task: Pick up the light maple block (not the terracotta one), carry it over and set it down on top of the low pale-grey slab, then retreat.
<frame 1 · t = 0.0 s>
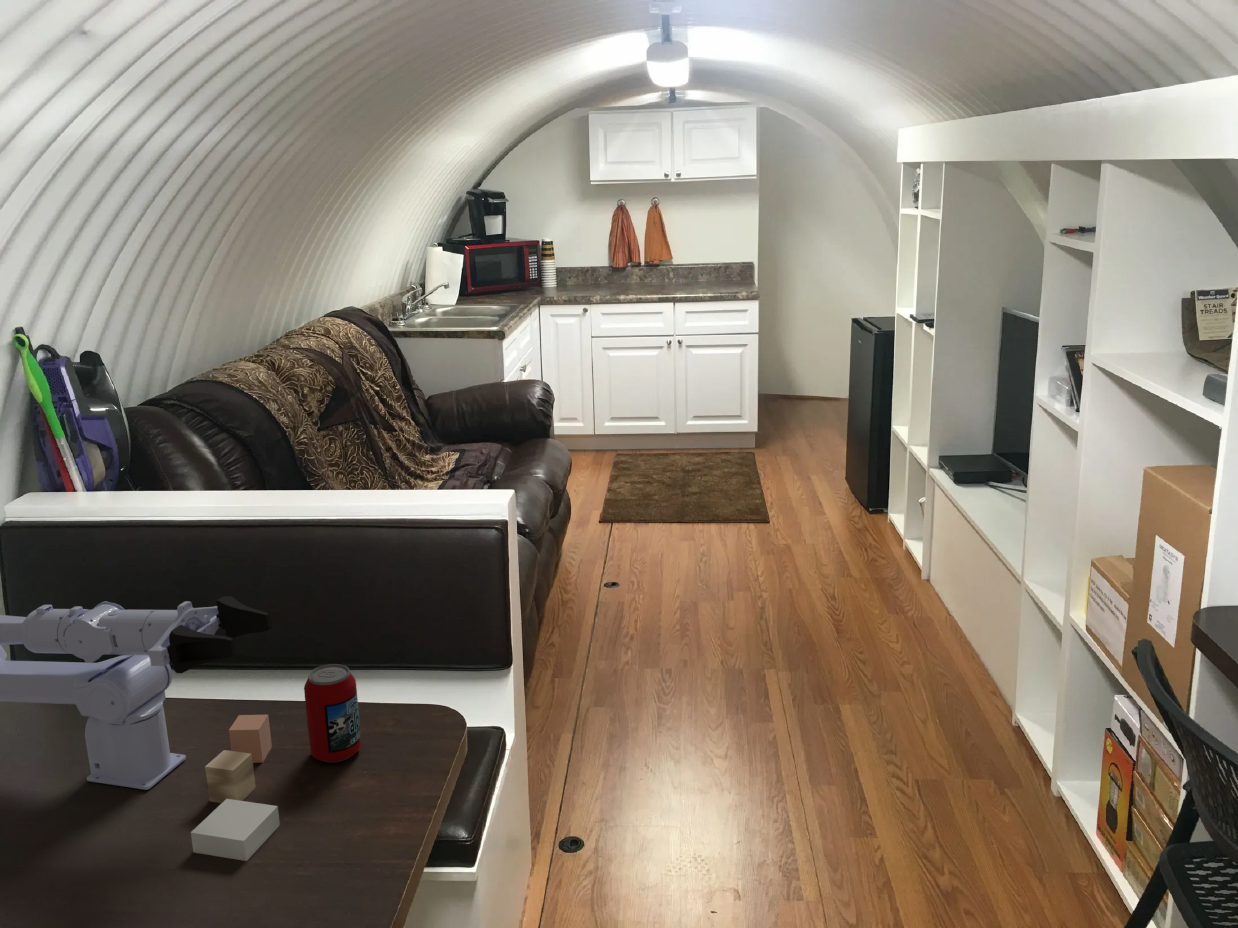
hand: (251, 634, 128), 22 cm above the table, tool horizontal, fingers open, 7 cm apart
grey slab: (237, 840, 124), on the table
beverage can: (336, 754, 142), on the table
terracotta block: (252, 754, 142), on the table
maple block: (233, 794, 133), on the table
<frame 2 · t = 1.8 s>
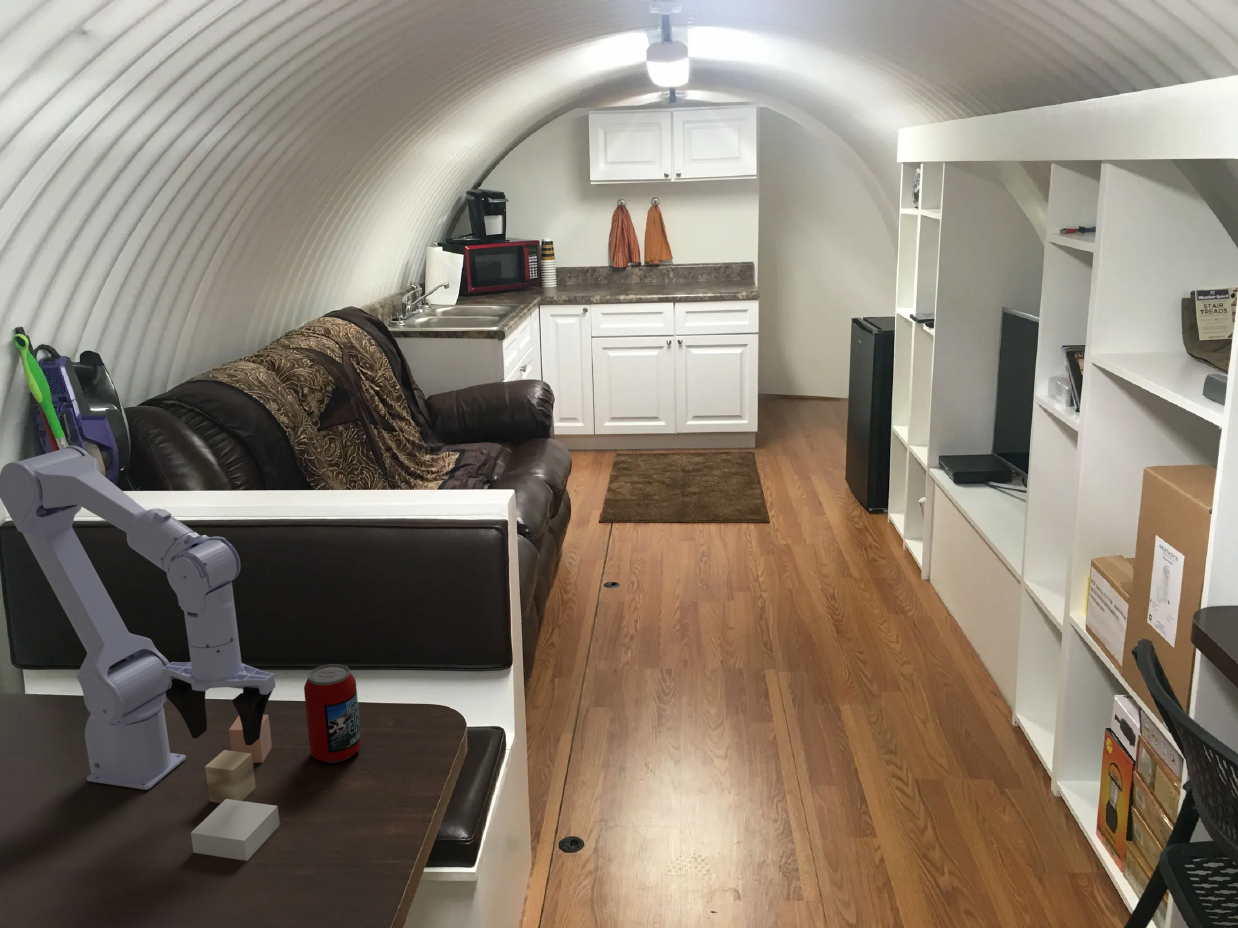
hand: (226, 737, 131), 8 cm above the table, tool pointing down, fingers open, 7 cm apart
nothing on the table moved.
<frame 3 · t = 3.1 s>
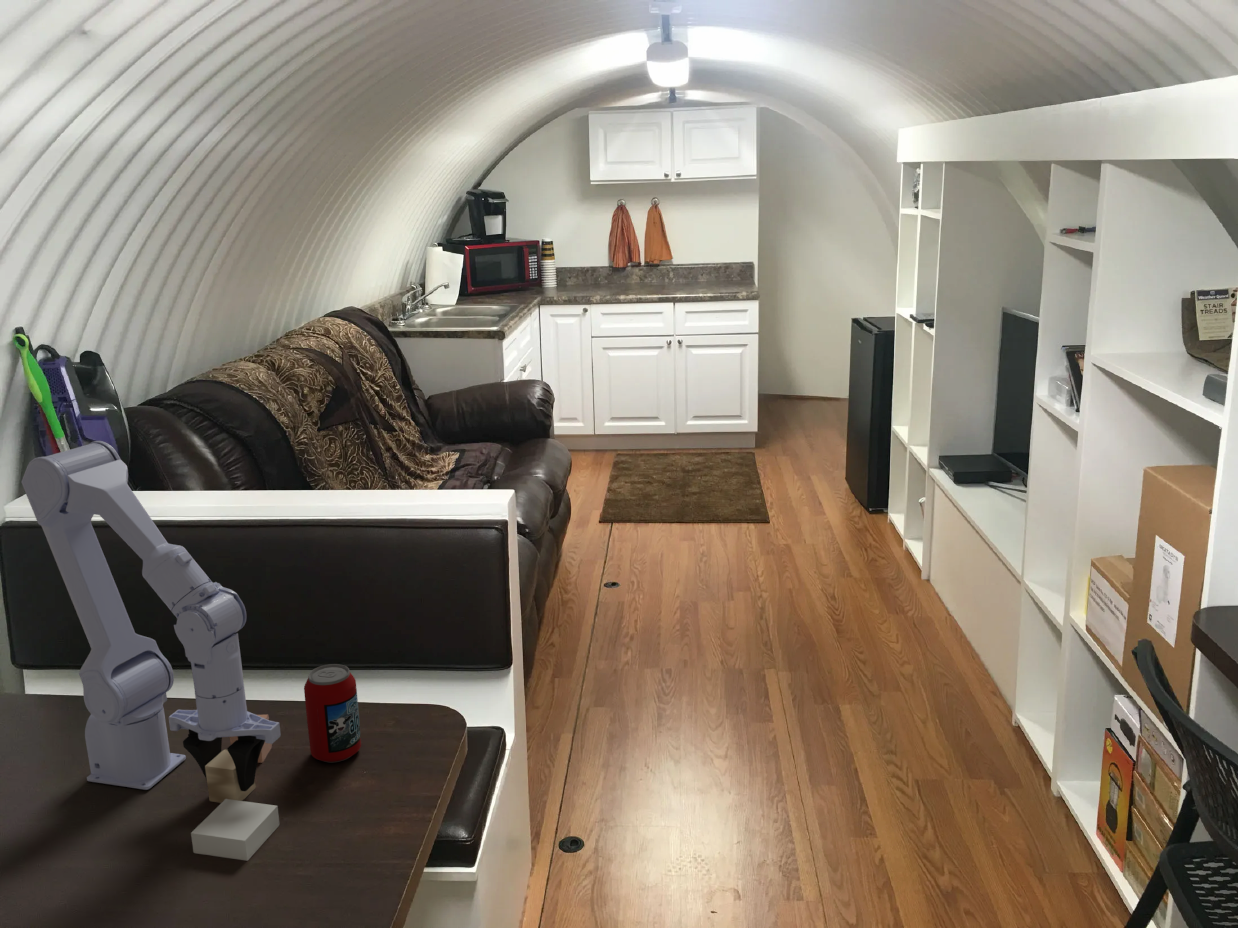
hand: (231, 784, 132), 1 cm above the table, tool pointing down, fingers closed on maple block, 4 cm apart
maple block: (232, 794, 133), on the table, touching gripper
everything else where it was.
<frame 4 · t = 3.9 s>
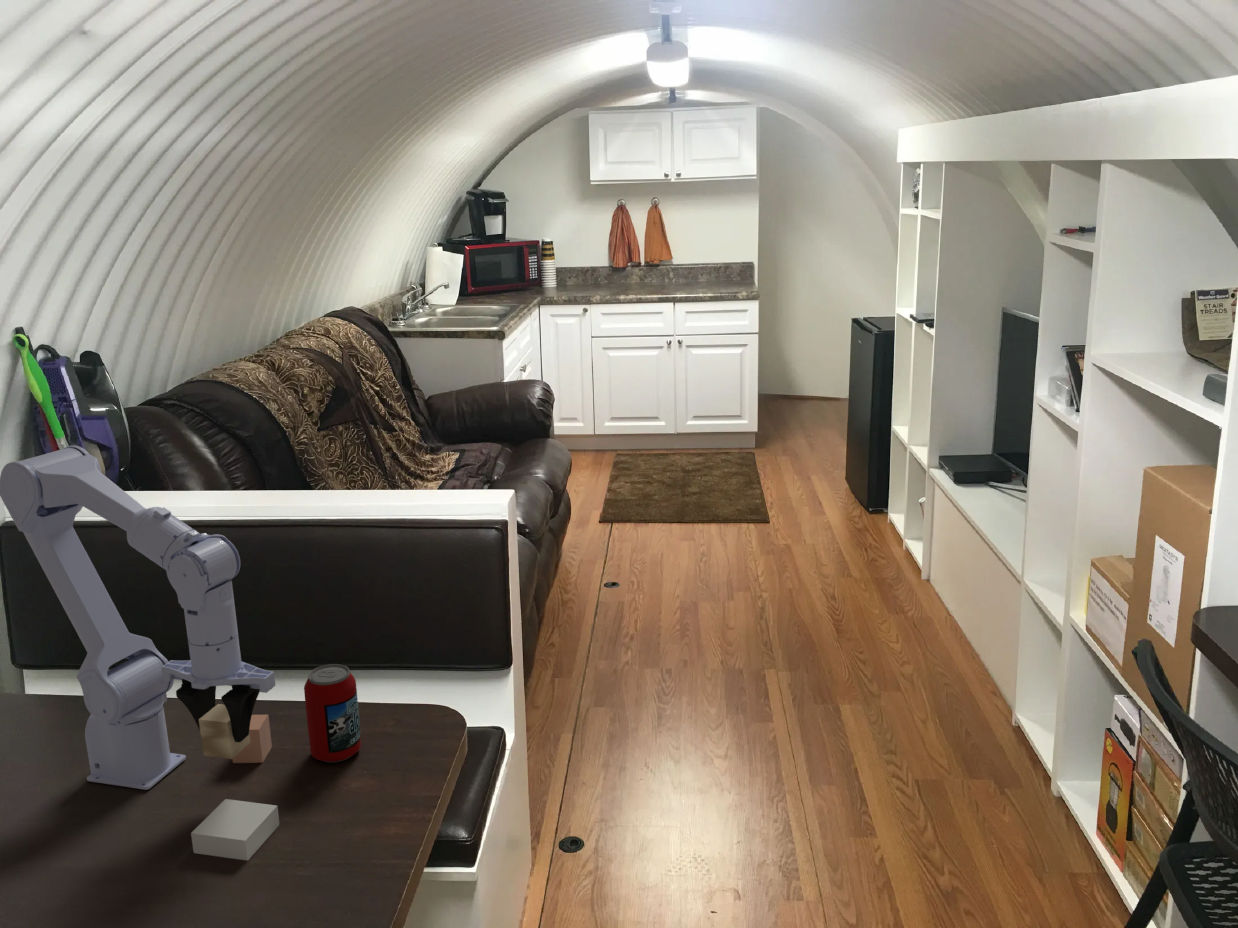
hand: (225, 735, 130), 8 cm above the table, tool pointing down, fingers closed on maple block, 4 cm apart
maple block: (227, 748, 131), point 7 cm above the table, touching gripper
everything else where it was.
when the fingers open (6 cm above the table, at t = 5.2 s): maple block drops 1 cm, resting on grey slab.
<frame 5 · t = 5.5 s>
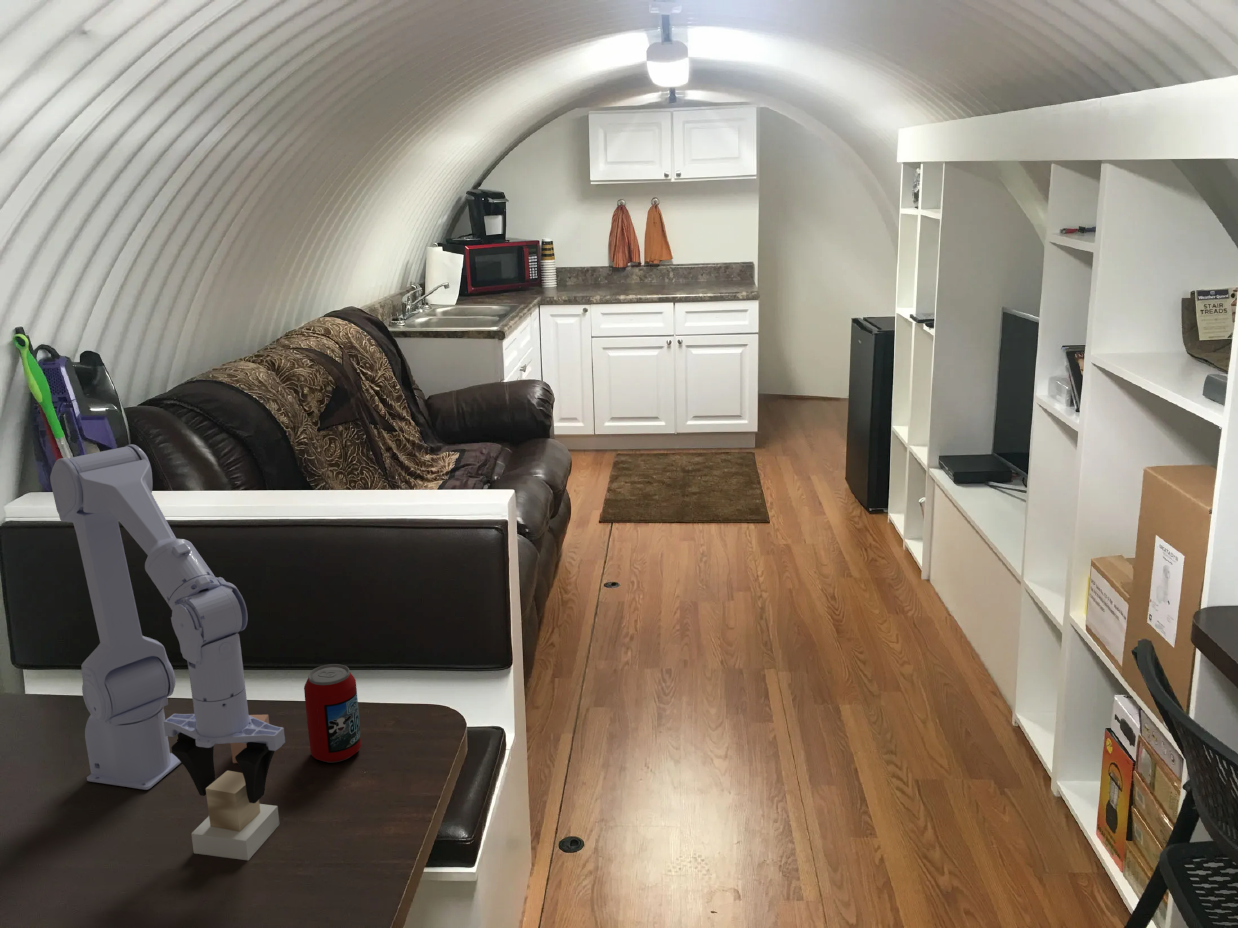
hand: (231, 794, 122), 6 cm above the table, tool pointing down, fingers open, 6 cm apart
grey slab: (237, 841, 124), on the table, touching maple block
maple block: (235, 819, 123), point 3 cm above the table, touching grey slab
everything else where it was.
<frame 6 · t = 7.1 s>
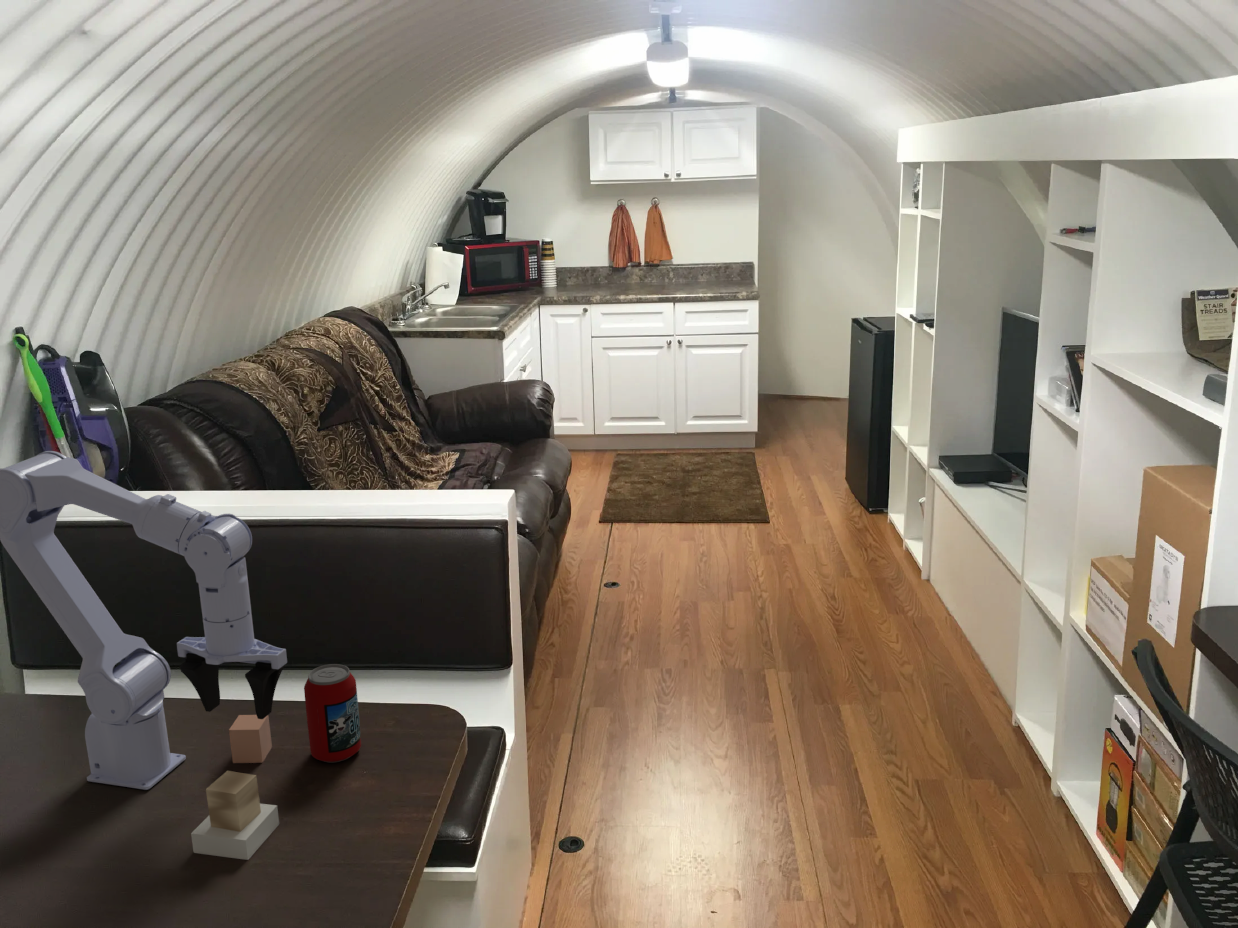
hand: (238, 711, 133), 10 cm above the table, tool pointing down, fingers open, 7 cm apart
grey slab: (237, 840, 124), on the table
maple block: (236, 819, 123), point 3 cm above the table
everything else where it was.
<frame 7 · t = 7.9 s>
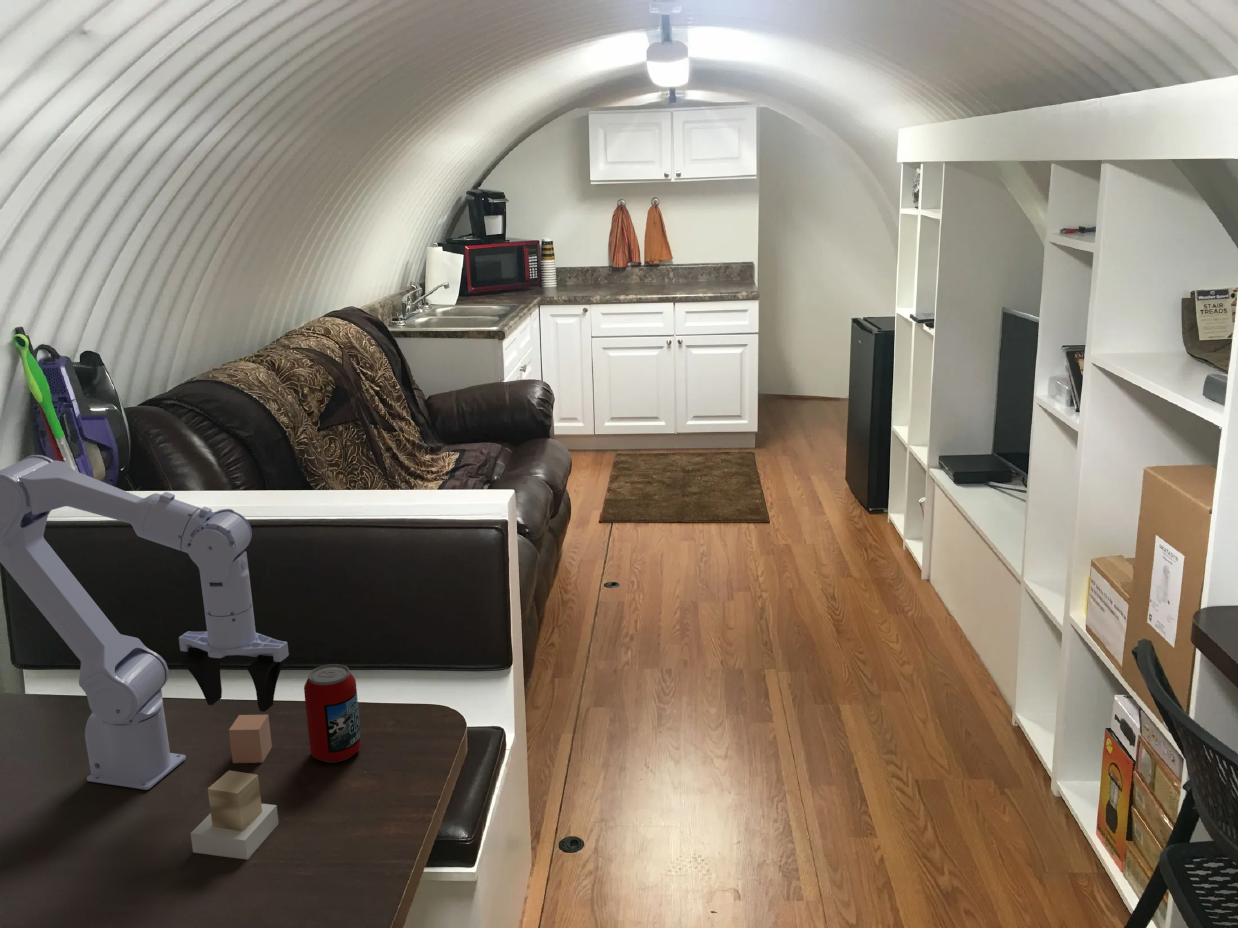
hand: (240, 704, 135), 10 cm above the table, tool pointing down, fingers open, 7 cm apart
grey slab: (237, 840, 124), on the table, touching maple block
maple block: (237, 818, 123), point 3 cm above the table, touching grey slab
everything else where it was.
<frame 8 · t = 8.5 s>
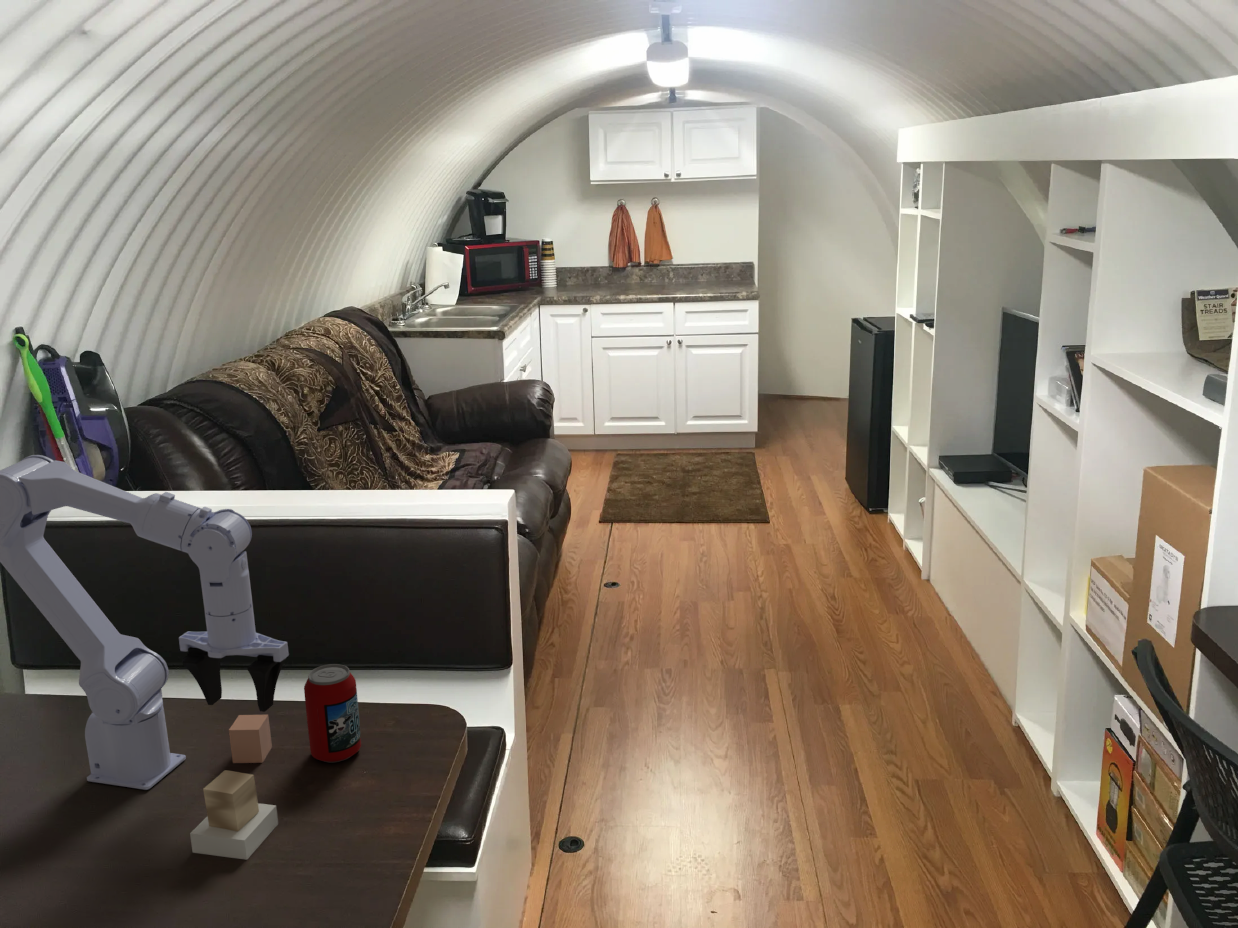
hand: (240, 704, 135), 10 cm above the table, tool pointing down, fingers open, 7 cm apart
grey slab: (236, 840, 124), on the table
maple block: (234, 818, 123), point 3 cm above the table
everything else where it was.
at the end: maple block 0.2 cm off-centre on the grey slab, point 3.0 cm above the grey slab's base; maple block tilted 1°; the gripper is holding nothing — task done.
